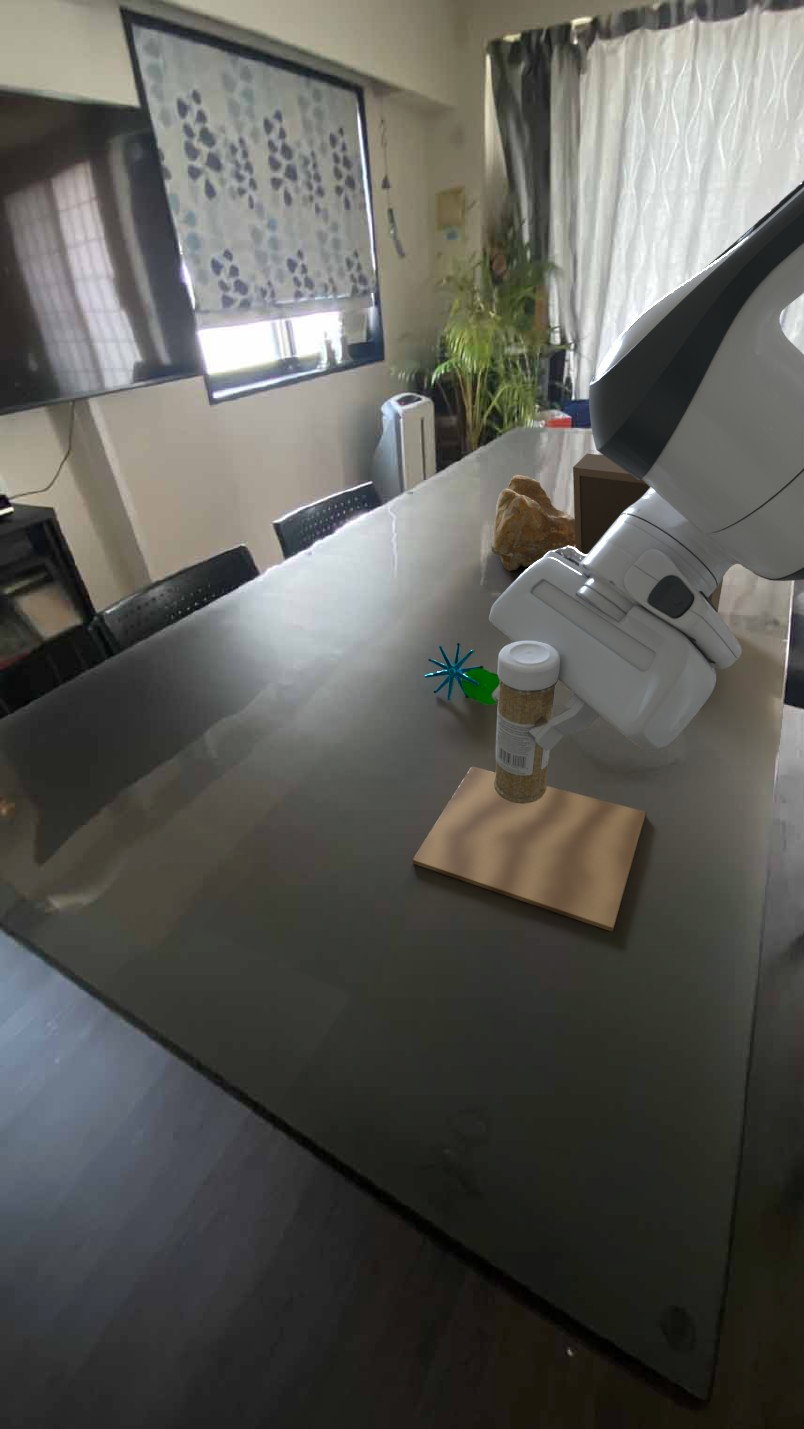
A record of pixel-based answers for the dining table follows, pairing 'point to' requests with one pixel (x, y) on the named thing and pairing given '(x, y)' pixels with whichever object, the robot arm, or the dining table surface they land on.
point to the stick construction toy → (467, 678)
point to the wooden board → (537, 848)
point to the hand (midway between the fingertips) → (518, 723)
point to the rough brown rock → (528, 524)
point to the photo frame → (605, 501)
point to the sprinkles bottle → (523, 718)
